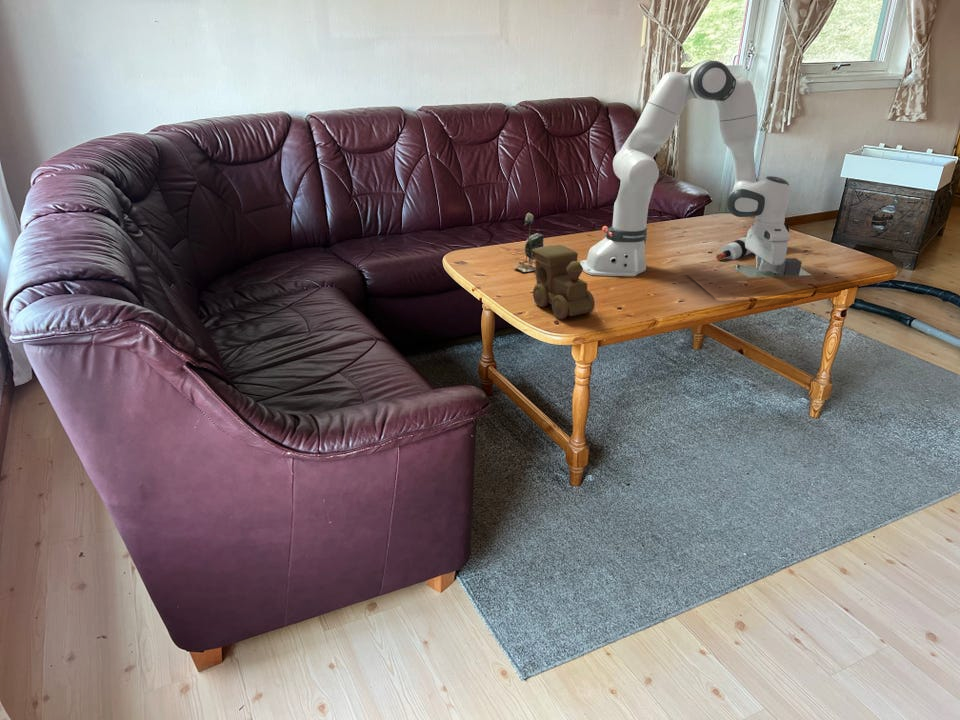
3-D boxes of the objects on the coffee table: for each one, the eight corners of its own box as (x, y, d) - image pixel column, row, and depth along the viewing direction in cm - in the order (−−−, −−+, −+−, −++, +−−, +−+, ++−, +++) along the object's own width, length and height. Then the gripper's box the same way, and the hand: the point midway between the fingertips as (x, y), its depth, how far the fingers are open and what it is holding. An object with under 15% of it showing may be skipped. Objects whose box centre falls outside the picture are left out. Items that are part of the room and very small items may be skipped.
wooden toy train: (527, 301, 203) (529, 248, 196) (558, 295, 208) (561, 243, 201) (564, 324, 187) (567, 267, 180) (597, 317, 192) (602, 261, 185)
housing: (747, 280, 220) (751, 260, 217) (731, 268, 231) (734, 250, 228) (811, 277, 222) (815, 258, 219) (792, 266, 233) (796, 247, 230)
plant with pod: (549, 269, 230) (552, 211, 221) (520, 274, 226) (522, 215, 217) (537, 263, 237) (539, 206, 228) (509, 267, 232) (510, 209, 224)
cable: (711, 273, 240) (703, 246, 239) (769, 248, 256) (761, 222, 254) (734, 268, 231) (725, 240, 230) (792, 242, 247) (784, 215, 246)
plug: (764, 274, 222) (767, 263, 220) (759, 270, 226) (761, 259, 224) (799, 273, 223) (801, 261, 222) (793, 269, 227) (795, 258, 225)
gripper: (744, 220, 226) (737, 260, 232) (774, 237, 208) (765, 280, 214) (761, 220, 227) (754, 259, 233) (793, 237, 209) (784, 279, 215)
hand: (760, 269), depth 223 cm, fingers closed, pressing on plug
